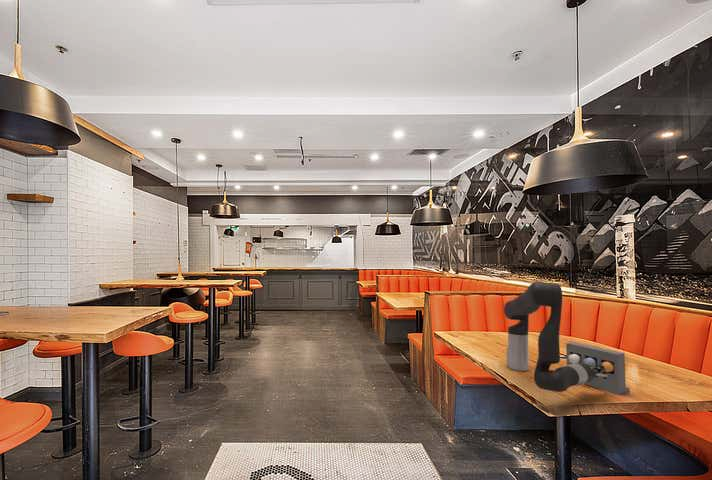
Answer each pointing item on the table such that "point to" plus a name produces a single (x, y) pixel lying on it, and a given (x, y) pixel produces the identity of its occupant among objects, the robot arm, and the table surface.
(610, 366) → the orange button
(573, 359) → the offwhite button
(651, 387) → the table surface
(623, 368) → the button panel
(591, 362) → the slate button
